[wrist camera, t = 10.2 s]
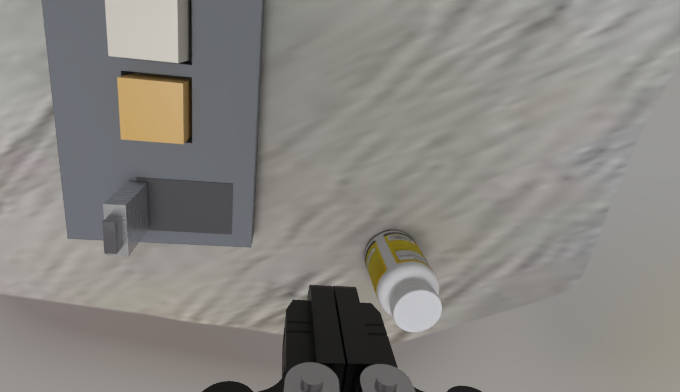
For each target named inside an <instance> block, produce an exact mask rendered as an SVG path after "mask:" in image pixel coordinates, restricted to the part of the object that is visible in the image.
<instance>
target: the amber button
mask: <svg viewBox="0 0 680 392" xmlns="http://www.w3.org/2000/svg"><path fill="white" fill-rule="evenodd" d="M117 85H118V101H119V118H120V134H121V139H122V140H135V141H147V142H160V143H173V144H184V143H185V142H186V141H187V140H188V139H189V138H190V137H191V136H192V78H187V77H177V76H167V75H157V74H147V73H136V72H135V73H131V74H127V75H124V76H120V77H117Z"/></svg>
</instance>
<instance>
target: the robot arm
mask: <svg viewBox="0 0 680 392" xmlns="http://www.w3.org/2000/svg"><path fill="white" fill-rule="evenodd" d="M203 392H253V391H252V390H251V389H250V388H249V387H248V386H246V385H244V384H242V383H239V382H233V381H227V382H226V381H225V382H220V383H216V384H213V385H212V386H210V387H208V388H206V389H205V390H204V391H203ZM259 392H423V391H420V390H418V389H416V388H415V387H413V385H412V383H411V381H410V379H409V377H408V376H407V375H406V374H405V373H404V372H403V371H401V370H400V369H398V367H397V365H396V361H395V358H394V355H393V352H392V348H391V345H390V342H389V339H388V336H387V333H386V329H385V327H384V323H383V320H382V317H381V314H380V312H379V311H378V310H377V309H376V308H375V307H374V306H373V305H372V304H371V303H360V301H359V297H358V293H357V289H356V287H344V286H333V287H332V286H322V285H310V286H309V290H308V299H307V301H306V300H293V301H292V302H291V303H290V305H289V306H288V308H287V309H286V317H285V328H284V338H283V348H282V379H281V380H280V381H279V383H277V384H276V385H274V386H273V387H271V388H269V389H266V390H263V391H259ZM447 392H481V391H480V390H477V389H475V388H472V387H468V386H456V387H453V388H451V389H449V390H448V391H447Z"/></svg>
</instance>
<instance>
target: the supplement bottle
mask: <svg viewBox="0 0 680 392" xmlns="http://www.w3.org/2000/svg"><path fill="white" fill-rule="evenodd" d="M365 264H366V267H367V270H368V273H369V275H370V278H371V281H372V284H373V287H374V290H375V293H376V296H377V299H378V301H379V303H380V305H381V307H382V308H383V309H384V310H385V311H386V312H387V313H388V314H389V315H391V316H393V318H394V321H395V323H396V324H397V325H398V326H399V327H400V328H401V329H403V330H405V331H408V332H421V331H424V330H426V329H429V328H430V327H432V326H433V325H434V324H435V323H436V322H437V321H438V319H439V318H440V315H441V312H442V304H441V301H440V299H439V297H438V295H439V283H438V280H437V277H436V275H435V274H434V272H433V270H432V269H431V267H430V265H429V264H428V262H427V260H426V259H425V257H424V256H423V254H422V252H421V251H420V249H419V247H418V246H417V244H416V243H415V241H414V240H413V239H412V238H411V237H410V236H409V235H407V234H406V233H403V232H401V231H386V232H383V233H381V234H379V235H377V236H376V237H374V238H373V239H372V240H371V241H370V243H369V244H368V246H367V248H366V251H365Z"/></svg>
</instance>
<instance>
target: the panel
mask: <svg viewBox="0 0 680 392" xmlns="http://www.w3.org/2000/svg"><path fill="white" fill-rule="evenodd" d="M42 8H43V17H44V27H45V36H46V45H47V54H48V63H49V72H50V81H51V90H52V99H53V109H54V118H55V127H56V136H57V145H58V154H59V163H60V172H61V181H62V190H63V200H64V209H65V218H66V227H67V236H68V239H86V240H104V238H103V226H102V222H103V220H104V213H103V203H104V202H106V201H107V200H108V199H109V198H110V197H111V196H112V195H113V194H114V193H115V192H116V191H118V190H119V189H120V188H121V187H122V186H123V185H124V184H125V183H126V182H127V181H130V182H145V183H147V191H148V216H149V229H148V230H147V231H146V233H145V234H144V236H143V237H142V238H141V240H140V241H139V242H149V243H170V244H191V245H212V246H233V247H251V245H252V240H253V234H254V215H255V193H256V172H257V150H258V128H259V107H260V85H261V63H262V42H263V20H264V0H192V62H189V61H184V62H181V63H171V62H161V61H152V60H142V59H132V58H122V57H112V56H108V42H107V27H106V12H105V0H42ZM134 72H141V73H151V74H161V75H172V76H182V77H192V136H191V137H190V138H189V139H188V140H187V141H186V142H185V143H184V144H173V143H160V142H147V141H135V140H122V139H121V134H120V118H119V101H118V85H117V77H120V76H124V75H127V74H131V73H134Z"/></svg>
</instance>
